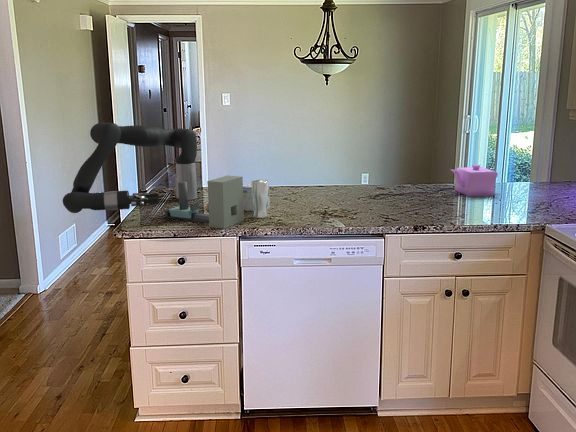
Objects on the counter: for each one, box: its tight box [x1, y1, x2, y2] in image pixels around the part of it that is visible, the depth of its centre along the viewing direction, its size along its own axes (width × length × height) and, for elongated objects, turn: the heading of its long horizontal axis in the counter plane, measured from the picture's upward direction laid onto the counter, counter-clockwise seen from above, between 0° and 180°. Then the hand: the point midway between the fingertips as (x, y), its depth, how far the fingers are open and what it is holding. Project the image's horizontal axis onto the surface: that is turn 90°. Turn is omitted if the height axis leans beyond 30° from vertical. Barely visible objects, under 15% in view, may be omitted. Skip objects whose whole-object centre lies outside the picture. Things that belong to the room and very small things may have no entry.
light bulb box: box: [243, 183, 271, 212], centre depth 243 cm, size 11×7×11 cm, turn 71°
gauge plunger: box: [205, 203, 209, 214], centre depth 221 cm, size 10×4×4 cm, turn 62°
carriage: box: [168, 182, 200, 219], centre depth 228 cm, size 11×7×14 cm, turn 62°
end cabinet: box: [207, 174, 245, 230], centre depth 219 cm, size 8×14×18 cm, turn 152°
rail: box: [164, 207, 209, 224], centre depth 228 cm, size 25×5×3 cm, turn 62°
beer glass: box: [251, 179, 269, 219], centre depth 230 cm, size 7×7×15 cm
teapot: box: [450, 164, 498, 197], centre depth 273 cm, size 15×25×14 cm, turn 98°
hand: (158, 198), depth 226 cm, fingers open, 8 cm apart
